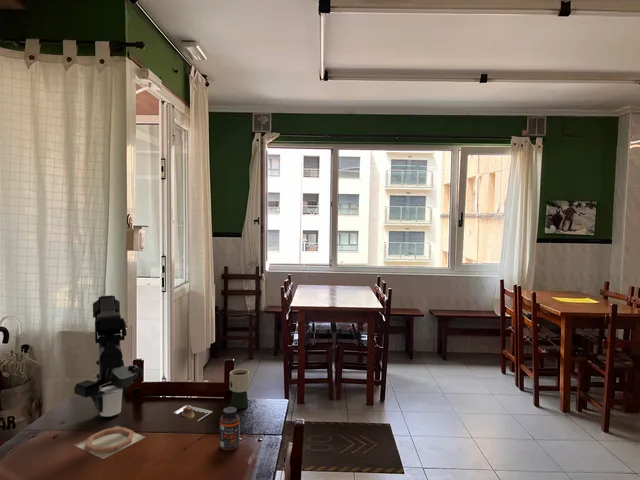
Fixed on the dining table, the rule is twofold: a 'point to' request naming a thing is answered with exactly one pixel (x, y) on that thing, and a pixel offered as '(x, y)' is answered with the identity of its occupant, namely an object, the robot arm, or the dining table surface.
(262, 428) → the dining table surface
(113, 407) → the shot glass
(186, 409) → the dessert
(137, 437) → the serving board
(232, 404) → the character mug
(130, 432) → the coaster ring
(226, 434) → the supplement bottle
